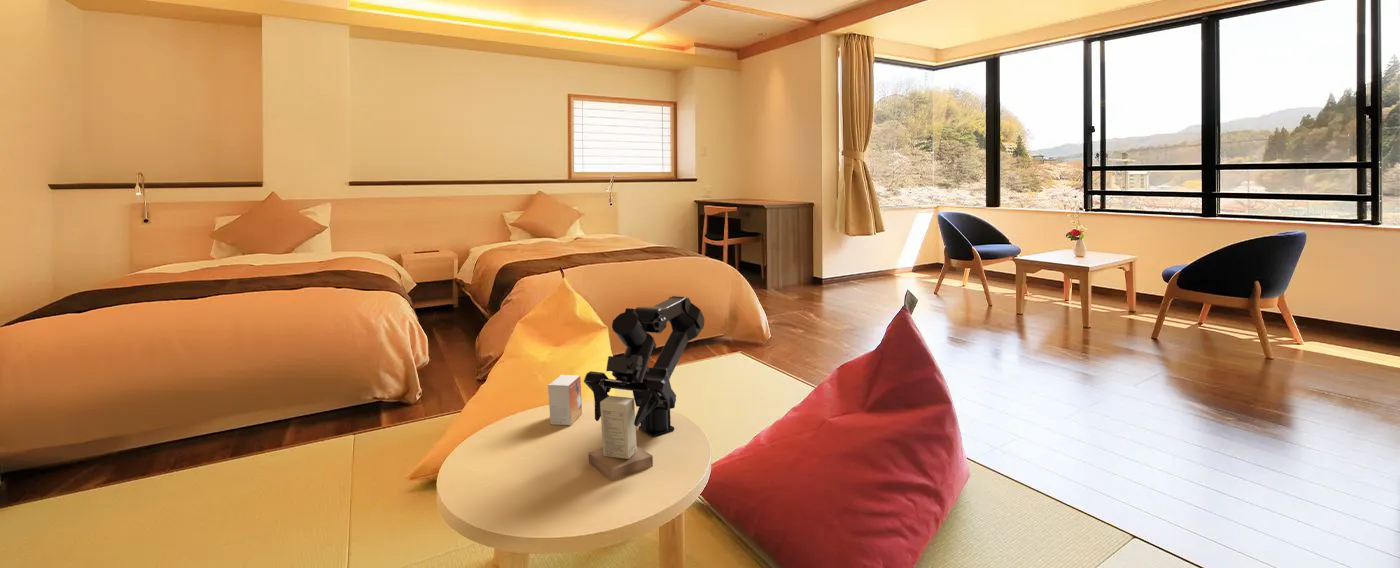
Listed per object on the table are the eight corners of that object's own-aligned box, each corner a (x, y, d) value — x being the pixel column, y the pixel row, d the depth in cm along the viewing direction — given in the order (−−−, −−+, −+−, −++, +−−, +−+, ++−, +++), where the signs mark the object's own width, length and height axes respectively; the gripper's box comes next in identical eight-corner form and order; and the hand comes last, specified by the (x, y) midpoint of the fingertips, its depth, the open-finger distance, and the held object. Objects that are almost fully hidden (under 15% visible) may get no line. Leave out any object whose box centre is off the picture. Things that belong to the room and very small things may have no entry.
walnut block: (628, 452, 144) (628, 440, 143) (652, 468, 136) (652, 455, 136) (589, 465, 138) (588, 452, 137) (611, 483, 130) (611, 469, 130)
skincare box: (637, 451, 138) (636, 397, 135) (628, 460, 134) (626, 405, 131) (611, 447, 140) (609, 394, 138) (601, 455, 136) (599, 401, 134)
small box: (571, 426, 157) (568, 385, 155) (549, 424, 158) (547, 384, 156) (583, 413, 165) (580, 375, 163) (562, 412, 166) (560, 374, 164)
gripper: (585, 336, 139) (561, 402, 131) (664, 343, 132) (643, 413, 124) (604, 359, 147) (582, 423, 139) (679, 367, 141) (660, 434, 133)
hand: (615, 422), depth 134 cm, fingers open, 9 cm apart
